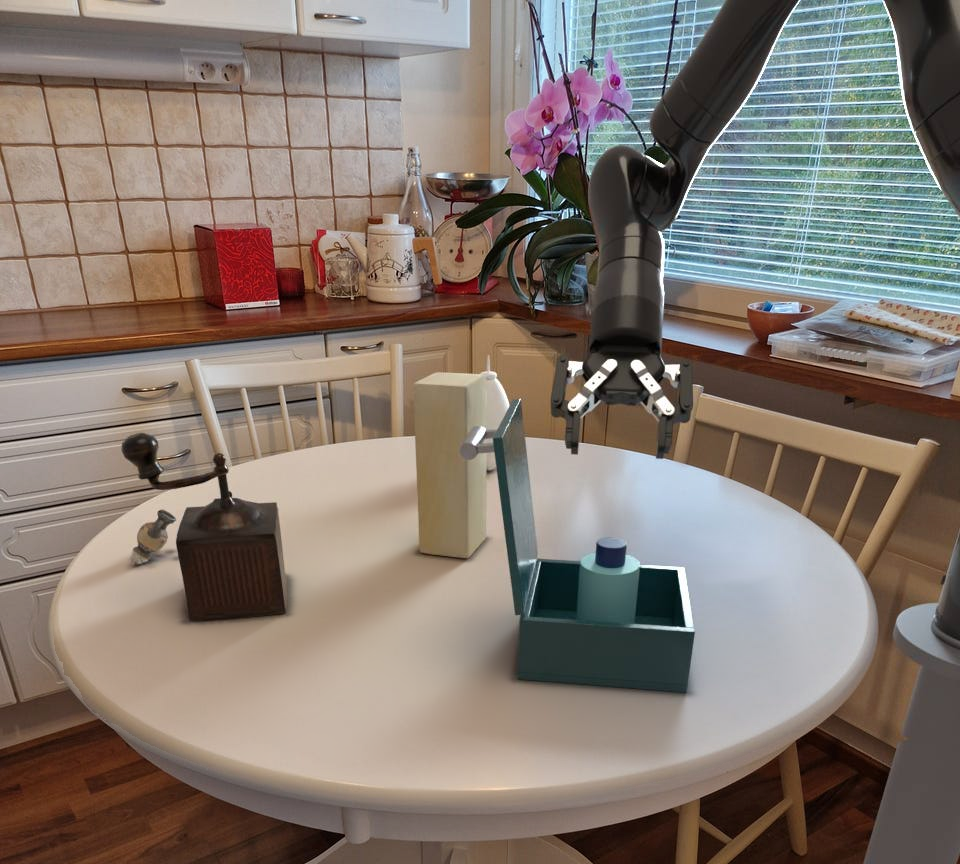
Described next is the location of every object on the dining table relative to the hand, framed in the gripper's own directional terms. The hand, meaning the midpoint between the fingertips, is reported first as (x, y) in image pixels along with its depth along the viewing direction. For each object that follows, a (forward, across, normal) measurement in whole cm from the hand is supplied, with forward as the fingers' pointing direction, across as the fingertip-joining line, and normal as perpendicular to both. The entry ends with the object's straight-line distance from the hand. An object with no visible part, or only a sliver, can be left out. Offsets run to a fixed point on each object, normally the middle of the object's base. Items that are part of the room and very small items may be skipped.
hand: (617, 452), depth 85 cm
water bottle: (+19, 0, +4) cm, 20 cm away
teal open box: (+19, 0, +6) cm, 20 cm away
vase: (+8, -55, +16) cm, 58 cm away
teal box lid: (+8, -9, -5) cm, 13 cm away
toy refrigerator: (+1, -20, +24) cm, 31 cm away
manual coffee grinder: (+16, -43, +9) cm, 47 cm away
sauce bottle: (-23, -20, +48) cm, 56 cm away
